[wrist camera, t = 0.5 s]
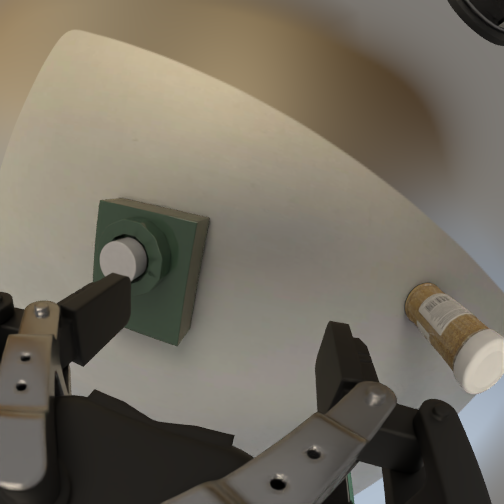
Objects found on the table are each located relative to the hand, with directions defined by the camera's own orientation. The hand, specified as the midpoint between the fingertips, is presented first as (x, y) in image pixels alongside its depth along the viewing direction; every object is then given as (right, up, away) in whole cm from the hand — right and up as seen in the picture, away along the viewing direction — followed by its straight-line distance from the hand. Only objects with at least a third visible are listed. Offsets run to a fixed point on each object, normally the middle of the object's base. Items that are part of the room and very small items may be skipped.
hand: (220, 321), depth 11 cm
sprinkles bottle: (+19, -2, +16) cm, 25 cm away
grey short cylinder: (-9, +2, +13) cm, 16 cm away
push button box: (-9, +1, +18) cm, 21 cm away
